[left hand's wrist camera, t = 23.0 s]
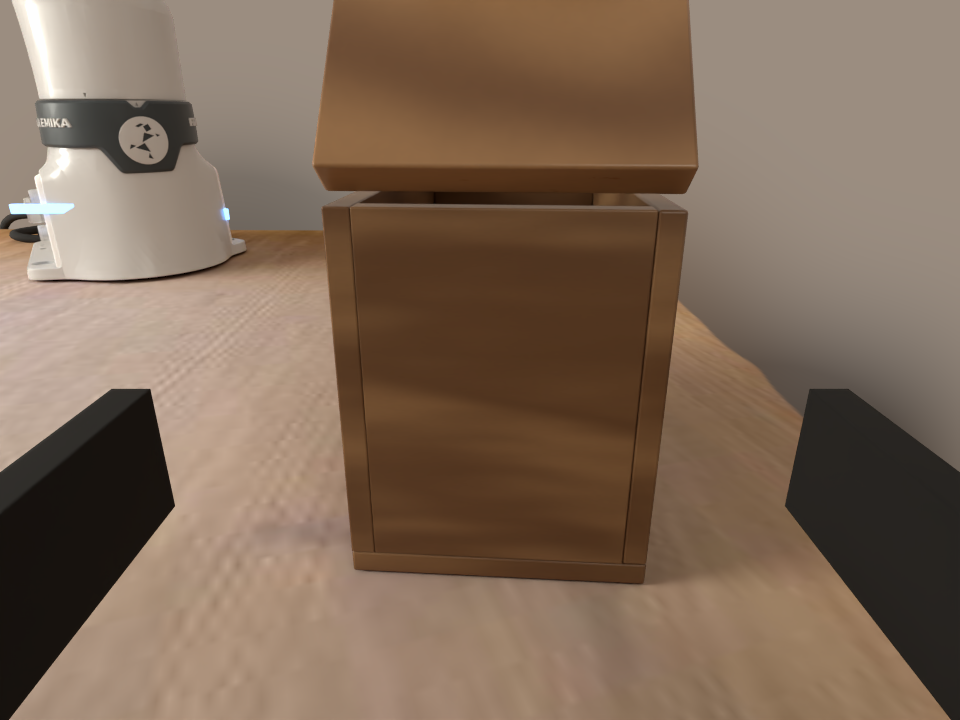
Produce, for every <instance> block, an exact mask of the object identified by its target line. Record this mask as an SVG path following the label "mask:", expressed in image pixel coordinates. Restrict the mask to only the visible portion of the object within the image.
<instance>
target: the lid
mask: <svg viewBox="0 0 960 720" xmlns="http://www.w3.org/2000/svg"><path fill="white" fill-rule="evenodd" d="M312 165H313V168H314V170H315V171H316V173H317V175H318V177H319V179H320V181H321V182H322V184H323V186H324V188H325V189H326V190H328V191H402V192H513V193H625V194H684V193H686V192H687V189H688V187H689V185H690V183H691V181H692V179H693V177H694V175H695V173H696V171H697V169H698V167H699V166H698V149H697V132H696V115H695V97H694V80H693V64H692V46H691V29H690V12H689V0H334V2H333V10H332V17H331V25H330V32H329V40H328V48H327V55H326V63H325V71H324V78H323V86H322V94H321V101H320V109H319V116H318V124H317V132H316V139H315V147H314V155H313V162H312Z"/></svg>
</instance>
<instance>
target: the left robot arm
mask: <svg viewBox="0 0 960 720" xmlns="http://www.w3.org/2000/svg"><path fill="white" fill-rule="evenodd" d="M174 507H175V503H174V499H173V494H172V489H171V484H170V480H169V475H168V470H167V466H166V461H165V456H164V451H163V447H162V442H161V437H160V433H159V428H158V423H157V418H156V414H155V409H154V404H153V400H152V395H151V390H150V389H111V390H110V391H108V392H107V393H106V394H104V395H103V396H102V397H100V398H99V399H98V400H96V401H95V402H94V403H92V404H91V405H90V406H88V407H87V408H86V409H84V410H83V411H82V412H80V413H79V414H78V415H76V416H75V417H74V418H72V419H71V420H70V421H68V422H67V423H66V424H64V425H63V426H62V427H60V428H59V429H58V430H56V431H55V432H54V433H52V434H51V435H50V436H48V437H47V438H46V439H44V440H43V441H41V442H40V443H39V444H37V445H36V446H35V447H33V448H32V449H31V450H29V451H28V452H27V453H25V454H24V455H23V456H21V457H20V458H19V459H17V460H16V461H15V462H13V463H12V464H11V465H9V466H8V467H7V468H5V469H4V470H3V471H1V472H0V720H9V719H10V718H11V716H12V715H13V714H14V712H15V711H16V710H17V709H18V707H19V706H20V705H21V703H22V702H23V701H24V700H25V698H26V697H27V696H28V694H29V693H30V692H31V691H32V689H33V688H34V687H35V685H36V684H37V683H38V682H39V680H40V679H41V678H42V676H43V675H44V674H45V673H46V671H47V670H48V669H49V667H50V666H51V665H52V664H53V662H54V661H55V660H56V658H57V657H58V656H59V655H60V653H61V652H62V651H63V649H64V648H65V647H66V646H67V644H68V643H69V642H70V640H71V639H72V638H73V637H74V635H75V634H76V633H77V631H78V630H79V629H80V628H81V626H82V625H83V624H84V622H85V621H86V620H87V619H88V617H89V616H90V615H91V613H92V612H93V611H94V610H95V608H96V607H97V606H98V604H99V603H100V602H101V601H102V599H103V598H104V597H105V595H106V594H107V593H108V592H109V590H110V589H111V588H112V586H113V585H114V584H115V583H116V581H117V580H118V579H119V577H120V576H121V575H122V574H123V572H124V571H125V570H126V568H127V567H128V566H129V565H130V563H131V562H132V561H133V559H134V558H135V557H136V556H137V554H138V553H139V552H140V550H141V549H142V548H143V547H144V545H145V544H146V543H147V541H148V540H149V539H150V538H151V536H152V535H153V534H154V532H155V531H156V530H157V529H158V527H159V526H160V525H161V523H162V522H163V521H164V520H165V518H166V517H167V516H168V514H169V513H170V512H171V511H172V509H173V508H174ZM785 507H786V508H787V509H788V511H789V512H790V513H791V514H792V516H793V517H794V518H795V520H796V521H797V522H798V523H799V525H800V526H801V527H802V529H803V530H804V531H805V532H806V534H807V535H808V536H809V538H810V539H811V540H812V541H813V543H814V544H815V545H816V547H817V548H818V549H819V550H820V552H821V553H822V554H823V556H824V557H825V558H826V559H827V561H828V562H829V563H830V565H831V566H832V567H833V568H834V570H835V571H836V572H837V574H838V575H839V576H840V577H841V579H842V580H843V581H844V583H845V584H846V585H847V586H848V588H849V589H850V590H851V592H852V593H853V594H854V595H855V597H856V598H857V599H858V601H859V602H860V603H861V604H862V606H863V607H864V608H865V610H866V611H867V612H868V613H869V615H870V616H871V617H872V619H873V620H874V621H875V622H876V624H877V625H878V626H879V628H880V629H881V630H882V631H883V633H884V634H885V635H886V637H887V638H888V639H889V640H890V642H891V643H892V644H893V646H894V647H895V648H896V649H897V651H898V652H899V653H900V655H901V656H902V657H903V658H904V660H905V661H906V662H907V664H908V665H909V666H910V667H911V669H912V670H913V671H914V673H915V674H916V675H917V676H918V678H919V679H920V680H921V682H922V683H923V684H924V685H925V687H926V688H927V689H928V691H929V692H930V693H931V694H932V696H933V697H934V698H935V700H936V701H937V702H938V703H939V705H940V706H941V707H942V709H943V710H944V711H945V712H946V714H947V715H948V716H949V718H950V719H951V720H960V472H959V471H957V470H956V469H955V468H953V467H952V466H951V465H949V464H948V463H947V462H945V461H944V460H943V459H941V458H940V457H939V456H937V455H936V454H935V453H933V452H932V451H931V450H929V449H928V448H927V447H925V446H924V445H923V444H921V443H920V442H918V441H917V440H916V439H914V438H913V437H912V436H910V435H909V434H908V433H906V432H905V431H904V430H902V429H901V428H900V427H898V426H897V425H896V424H894V423H893V422H892V421H890V420H889V419H888V418H886V417H885V416H884V415H882V414H881V413H880V412H878V411H877V410H876V409H874V408H873V407H872V406H870V405H869V404H868V403H866V402H865V401H864V400H862V399H861V398H860V397H858V396H857V395H856V394H854V393H853V392H852V391H850V390H849V389H810V390H809V395H808V400H807V404H806V409H805V414H804V418H803V423H802V428H801V433H800V437H799V442H798V447H797V451H796V456H795V461H794V466H793V470H792V475H791V480H790V484H789V489H788V494H787V499H786V503H785Z"/></svg>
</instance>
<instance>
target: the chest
mask: <svg viewBox="0 0 960 720" xmlns="http://www.w3.org/2000/svg"><path fill="white" fill-rule="evenodd" d="M321 210H322V221H323V232H324V243H325V254H326V265H327V277H328V288H329V299H330V310H331V321H332V332H333V343H334V354H335V365H336V376H337V387H338V398H339V410H340V421H341V432H342V443H343V454H344V465H345V476H346V487H347V498H348V509H349V520H350V531H351V542H352V551H353V561H354V568H355V569H356V570H375V571H395V572H416V573H436V574H457V575H477V576H498V577H518V578H539V579H559V580H580V581H600V582H621V583H643V582H644V576H645V567H646V566H645V563H646V559H647V550H648V542H649V534H650V526H651V517H652V509H653V501H654V492H655V484H656V476H657V468H658V459H659V451H660V443H661V434H662V426H663V418H664V410H665V401H666V393H667V385H668V376H669V368H670V360H671V352H672V343H673V335H674V327H675V318H676V310H677V302H678V293H679V285H680V277H681V269H682V260H683V252H684V244H685V236H686V227H687V219H688V212H687V210H685V209H683V208H682V207H680V206H678V205H676V204H675V203H673V202H672V201H670V200H668V199H667V198H665V197H663V196H662V195H660V194H625V193H513V192H402V191H356V192H354V193H352V194H349V195H347V196H345V197H343V198H340V199H338V200H336V201H334V202H332V203H329V204H327V205H325V206H323V207H322V208H321Z"/></svg>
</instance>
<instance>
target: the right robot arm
mask: <svg viewBox="0 0 960 720" xmlns="http://www.w3.org/2000/svg"><path fill="white" fill-rule="evenodd" d="M12 3H13V6H14V9H15V12H16V15H17V18H18V21H19V24H20V27H21V31H22V34H23V37H24V41H25V44H26V47H27V51H28V55H29V59H30V62H31V66H32V70H33V74H34V78H35V82H36V86H37V90H38V94H39V98H40V100H42V101H37V102H36V103H35V106H36V111H37V118H36V120H37V126H38V127H39V129H40V134H41V140H42V144H44V145H45V146H47V147H48V154H47V161H46V163H45V165H44V166H43V167H42V168H41V169H40V170H39V174H38V175H36V176H35V182H36V186H37V189H32V190H28V192H29V197H28V198H25V199H23V201H24V204H9V207H10V210H11V214H10V215H8V216H6V217H5V218H4V219H3V220H2V222H1V225H0V229H9V226H10V224H11V223H12V222H13V221H15V220H18V219H26V218H28V221H29V223H42V222H45V225H38V226H32V227H25V228H19V229H15V230H12V231H11V232H10V235H9V236H10V237H11V238H12V239H15V240H18V241H22V242H36V243H34V245H33V248H32V252H31V255H30V259H29V263H28V266H27V272H28V279H29V280H57V279H79V280H126V279H140V278H150V277H159V276H167V275H174V274H180V273H186V272H191V271H195V270H200V269H204V268H208V267H211V266H214V265H217V264H220V263H222V262H224V261H226V260H227V259H228V258H230V257H231V256H232V255H235V254H238V253H241V252H244V251H246V250H247V248H246V244H245V241H244V240H242V239H236V238H232V237H231V232H230V227H229V223H228V219H230V218H229V211H228V209H226V208H225V203H224V199H223V194H222V190H221V185H220V180H219V176H218V172H217V170H216V168H215V167H214V166H212V165H211V164H210V163H209V162H207V161H206V160H205V159H204V158H203V157H202V156H201V155H200V154H199V152H198V151H197V149H196V147H195V145H194V144H196V143H197V142H198V137H197V130H196V125H197V123H196V118H194V114H193V109H192V104H190V103H189V102H180V101H186V96H185V90H184V84H183V78H182V71H181V65H180V59H179V52H178V46H177V40H176V34H175V27H174V21H173V17H172V14H171V12H170V10H169V8H168V6H167V4H166V2H165V1H164V0H12ZM32 234H38V235H32Z"/></svg>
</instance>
